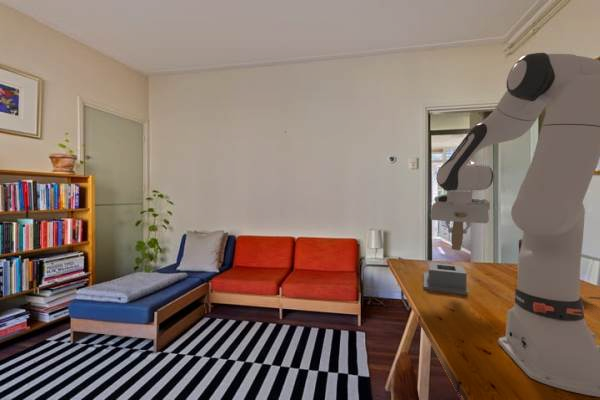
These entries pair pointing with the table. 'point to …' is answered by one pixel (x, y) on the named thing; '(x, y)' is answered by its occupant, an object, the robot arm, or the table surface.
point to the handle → (457, 232)
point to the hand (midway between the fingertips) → (457, 233)
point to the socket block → (446, 278)
